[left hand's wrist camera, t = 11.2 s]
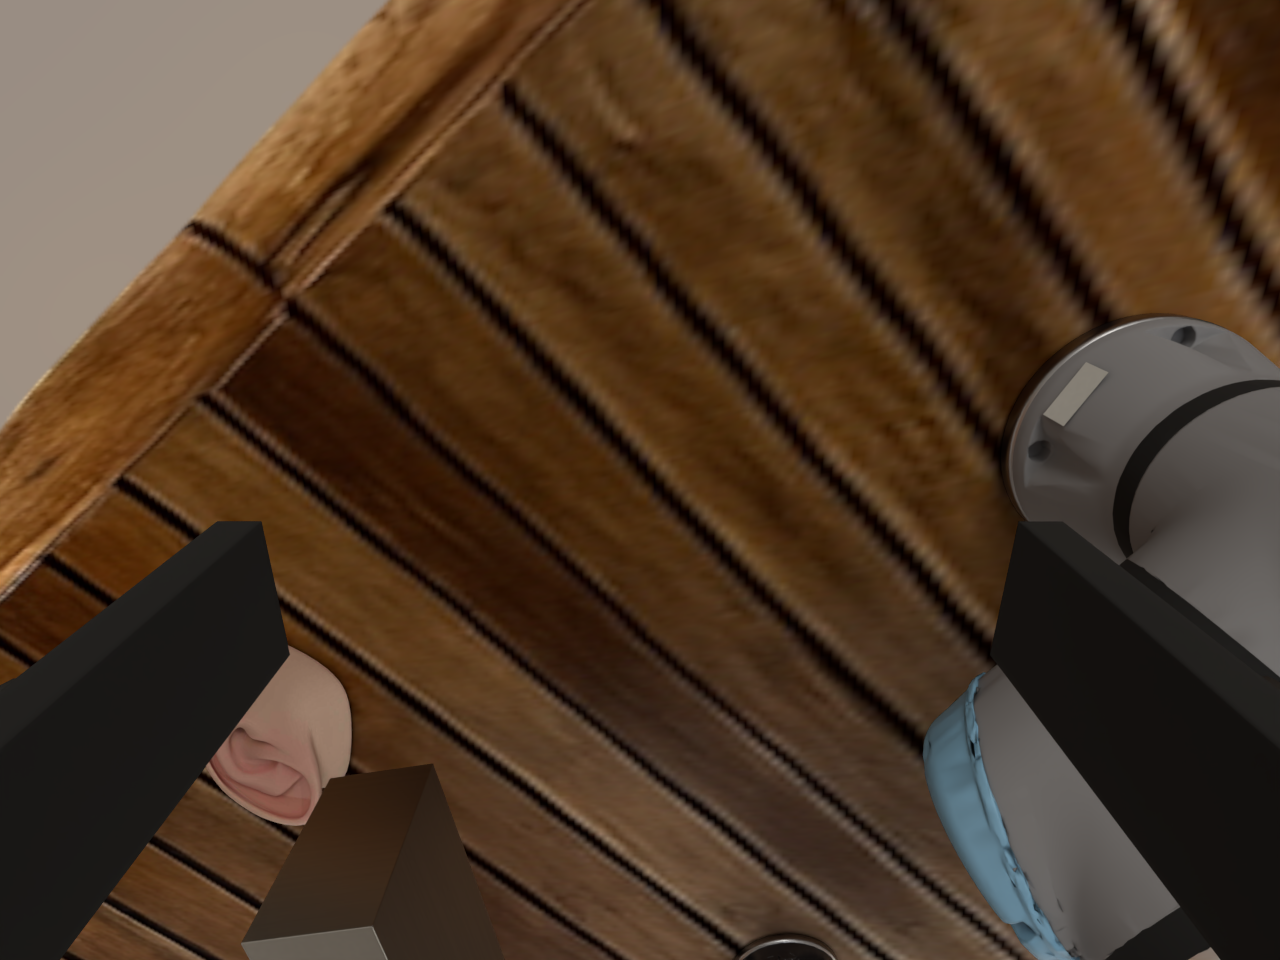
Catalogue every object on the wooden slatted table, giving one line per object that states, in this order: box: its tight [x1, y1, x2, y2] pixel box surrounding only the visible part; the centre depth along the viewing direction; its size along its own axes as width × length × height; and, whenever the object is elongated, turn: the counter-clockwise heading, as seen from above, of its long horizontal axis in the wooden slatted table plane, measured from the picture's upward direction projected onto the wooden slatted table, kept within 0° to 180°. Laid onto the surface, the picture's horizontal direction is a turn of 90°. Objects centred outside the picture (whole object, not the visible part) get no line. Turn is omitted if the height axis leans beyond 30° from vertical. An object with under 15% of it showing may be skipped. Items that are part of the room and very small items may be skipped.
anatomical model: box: [206, 645, 352, 826], centre depth 51 cm, size 13×4×12 cm
